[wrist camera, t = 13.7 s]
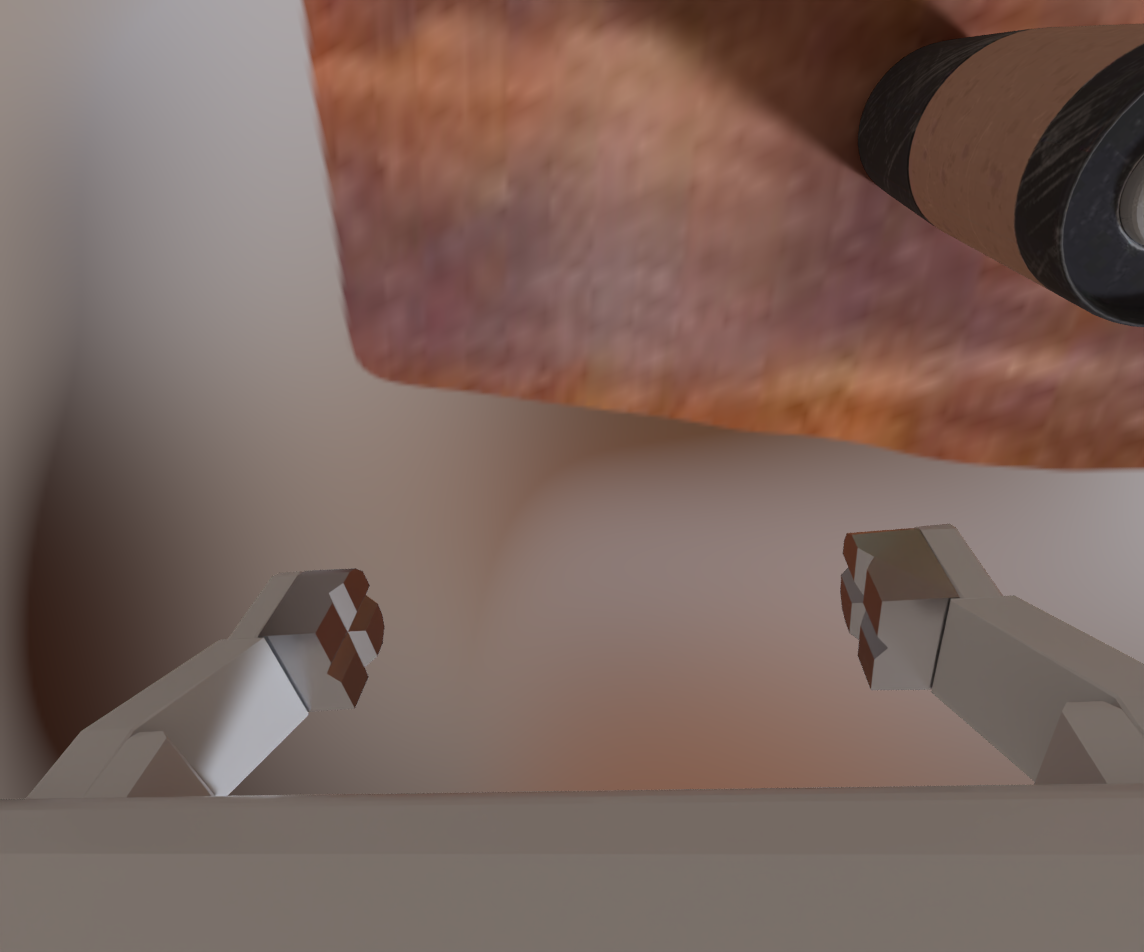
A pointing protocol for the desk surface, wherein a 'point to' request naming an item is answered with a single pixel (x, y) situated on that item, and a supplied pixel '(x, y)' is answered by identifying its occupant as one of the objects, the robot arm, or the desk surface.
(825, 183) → the desk surface
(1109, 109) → the travel mug
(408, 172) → the desk surface
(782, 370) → the desk surface
